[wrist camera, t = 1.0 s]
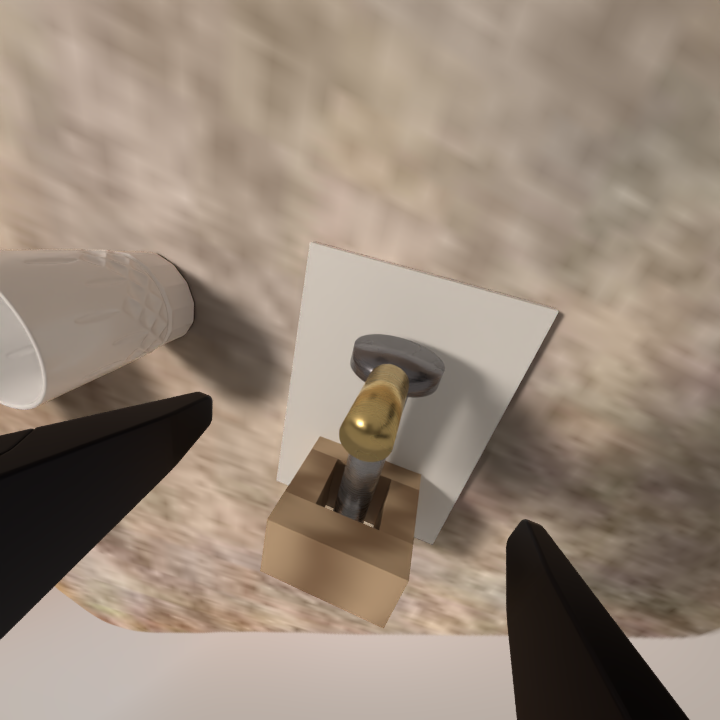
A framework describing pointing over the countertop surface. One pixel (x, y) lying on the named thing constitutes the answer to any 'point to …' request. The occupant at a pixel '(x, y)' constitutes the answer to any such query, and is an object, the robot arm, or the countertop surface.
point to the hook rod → (380, 411)
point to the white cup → (82, 317)
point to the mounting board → (428, 328)
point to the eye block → (343, 536)
